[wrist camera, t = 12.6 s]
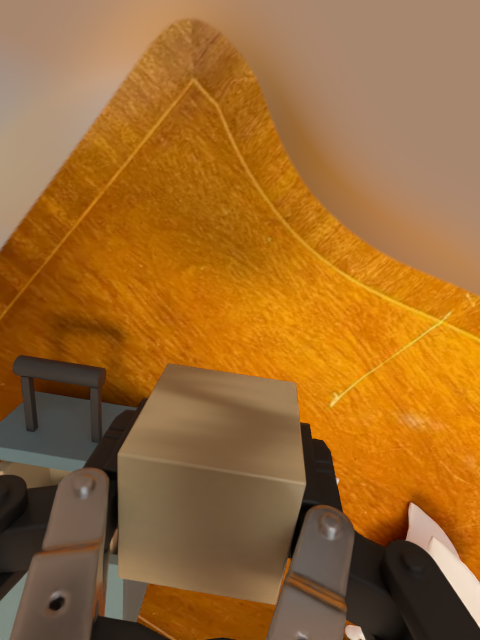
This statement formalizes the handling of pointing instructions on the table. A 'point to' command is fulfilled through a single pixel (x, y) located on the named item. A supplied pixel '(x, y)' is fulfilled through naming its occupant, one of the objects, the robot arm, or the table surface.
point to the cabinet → (119, 603)
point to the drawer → (54, 424)
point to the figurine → (438, 563)
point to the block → (211, 484)
